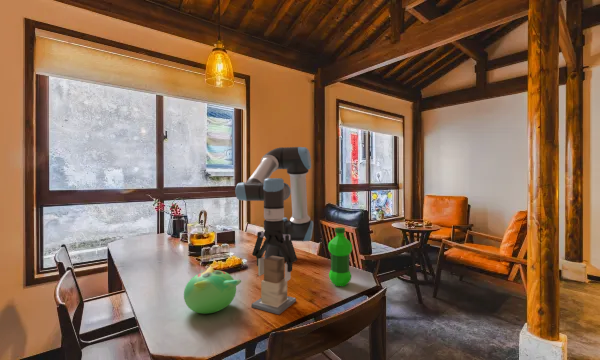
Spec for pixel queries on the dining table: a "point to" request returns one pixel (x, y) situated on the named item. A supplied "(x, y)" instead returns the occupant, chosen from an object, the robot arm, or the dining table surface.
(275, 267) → the walnut block
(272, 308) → the slate pad
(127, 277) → the dining table surface
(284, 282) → the maple block
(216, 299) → the round green bird figurine
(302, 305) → the dining table surface
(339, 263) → the plastic bottle
